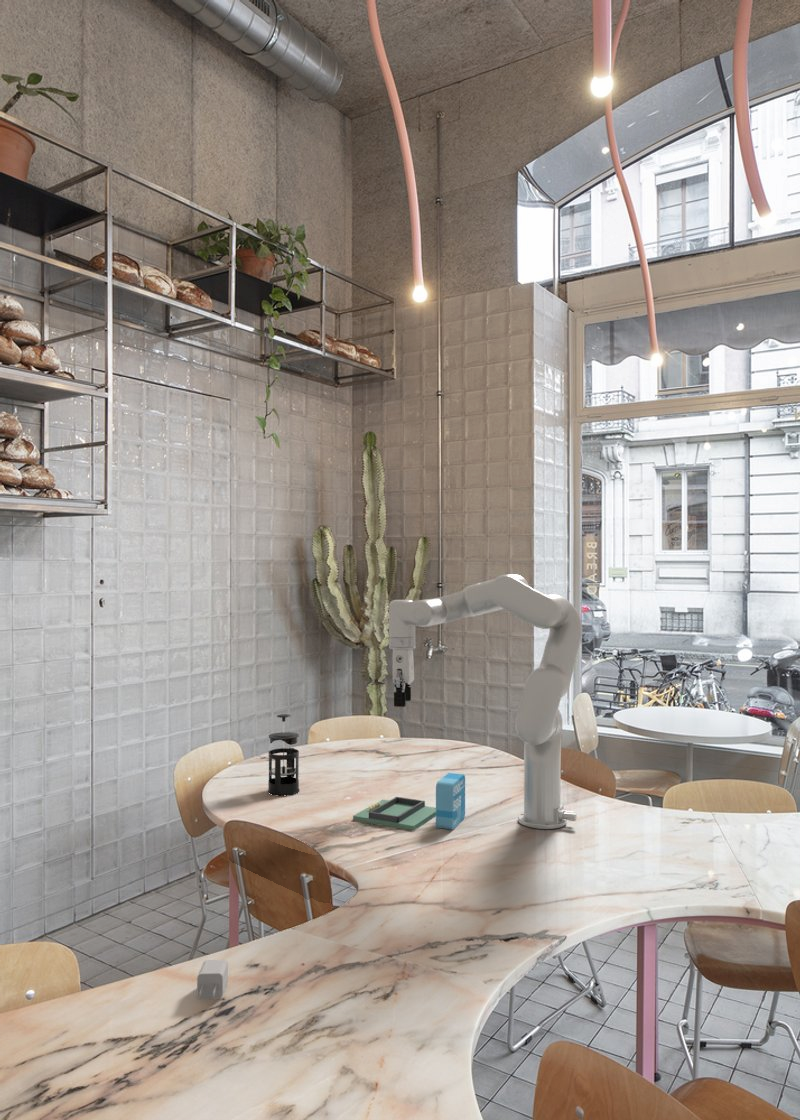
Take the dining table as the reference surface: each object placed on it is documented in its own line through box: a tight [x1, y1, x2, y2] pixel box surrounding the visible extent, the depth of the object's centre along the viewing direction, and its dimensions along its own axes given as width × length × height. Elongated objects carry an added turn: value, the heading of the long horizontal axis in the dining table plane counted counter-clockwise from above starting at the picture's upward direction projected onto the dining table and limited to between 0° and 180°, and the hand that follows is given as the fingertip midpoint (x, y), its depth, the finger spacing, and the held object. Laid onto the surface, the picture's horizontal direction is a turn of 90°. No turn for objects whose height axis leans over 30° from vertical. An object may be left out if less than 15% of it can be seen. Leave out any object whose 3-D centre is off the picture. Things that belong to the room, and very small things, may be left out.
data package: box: [435, 772, 466, 831], centre depth 209 cm, size 12×4×12 cm, turn 159°
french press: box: [267, 713, 300, 797], centre depth 238 cm, size 12×9×23 cm
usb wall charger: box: [196, 959, 229, 1000], centre depth 125 cm, size 4×7×4 cm, turn 2°
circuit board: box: [352, 796, 436, 832], centre depth 214 cm, size 18×16×3 cm
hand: (402, 703), depth 226 cm, fingers open, 9 cm apart
